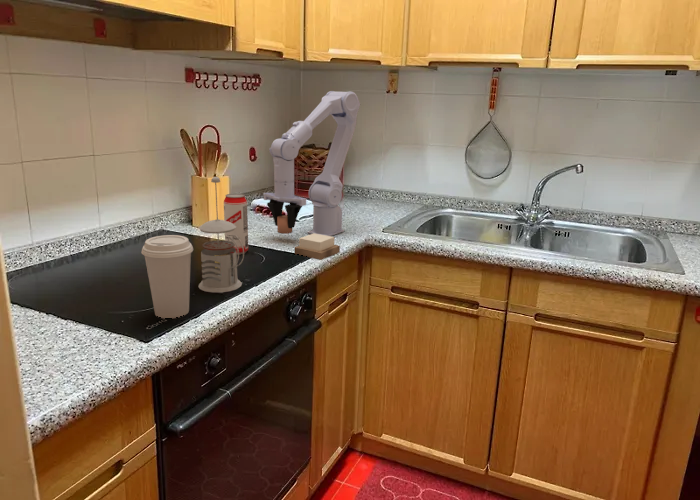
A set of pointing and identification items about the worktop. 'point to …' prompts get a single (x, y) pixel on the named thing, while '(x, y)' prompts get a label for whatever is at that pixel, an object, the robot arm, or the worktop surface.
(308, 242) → the cream slab
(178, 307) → the coffee cup
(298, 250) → the walnut base slab
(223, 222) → the french press
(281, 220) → the terracotta cylinder
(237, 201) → the beer can
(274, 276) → the worktop surface
